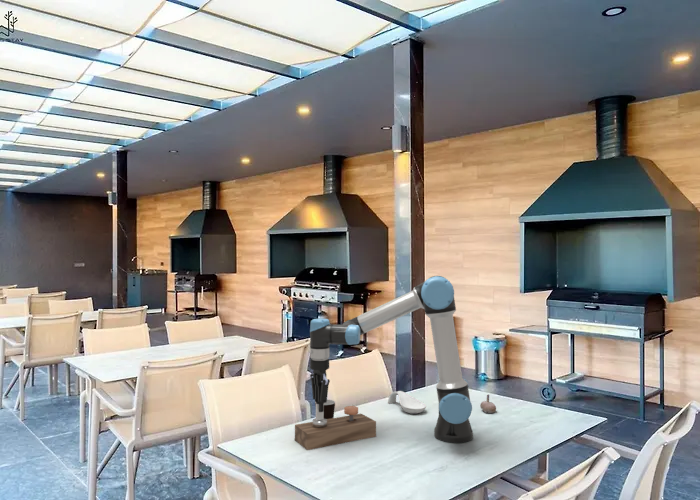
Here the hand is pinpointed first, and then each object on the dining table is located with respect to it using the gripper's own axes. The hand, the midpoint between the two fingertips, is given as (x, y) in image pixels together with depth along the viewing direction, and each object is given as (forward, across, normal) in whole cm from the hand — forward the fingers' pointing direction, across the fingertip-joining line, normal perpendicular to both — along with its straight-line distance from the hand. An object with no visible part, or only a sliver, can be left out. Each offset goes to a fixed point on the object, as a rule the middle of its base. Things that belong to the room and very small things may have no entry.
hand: (319, 419), depth 200 cm
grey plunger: (+8, 0, 0) cm, 8 cm away
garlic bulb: (+9, +3, +85) cm, 86 cm away
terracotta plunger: (+5, 0, +14) cm, 15 cm away
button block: (+8, 0, +7) cm, 11 cm away
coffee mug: (+9, -17, +11) cm, 22 cm away
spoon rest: (+9, -20, +54) cm, 58 cm away
